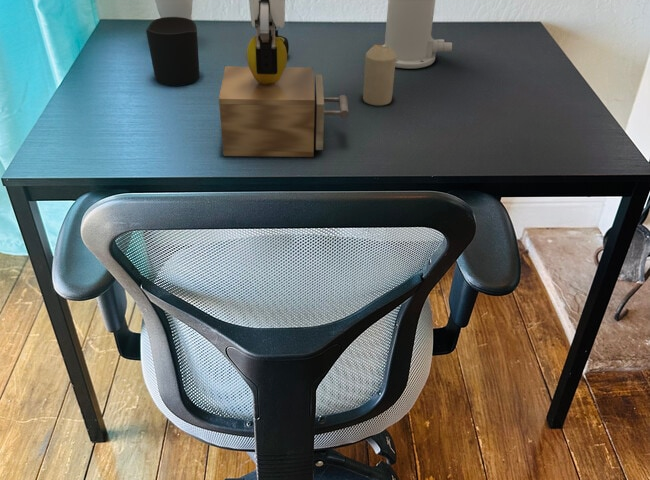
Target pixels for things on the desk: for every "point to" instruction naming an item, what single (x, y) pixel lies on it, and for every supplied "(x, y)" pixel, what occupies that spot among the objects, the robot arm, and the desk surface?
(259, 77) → the apple
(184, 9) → the cup
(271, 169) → the desk surface
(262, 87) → the cabinet
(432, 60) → the robot arm
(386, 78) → the candle
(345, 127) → the desk surface
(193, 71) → the pen holder
